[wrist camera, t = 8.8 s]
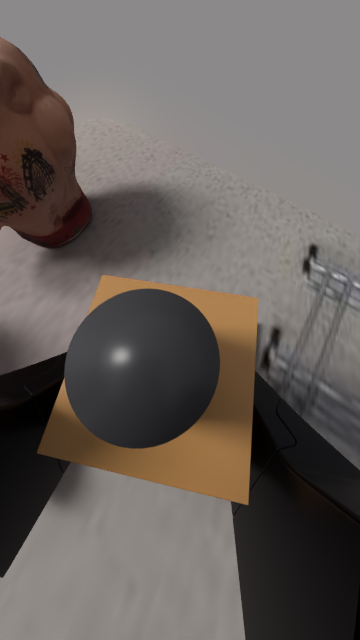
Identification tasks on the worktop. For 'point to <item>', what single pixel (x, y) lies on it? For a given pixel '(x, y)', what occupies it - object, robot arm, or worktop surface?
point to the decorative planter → (37, 156)
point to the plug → (161, 387)
